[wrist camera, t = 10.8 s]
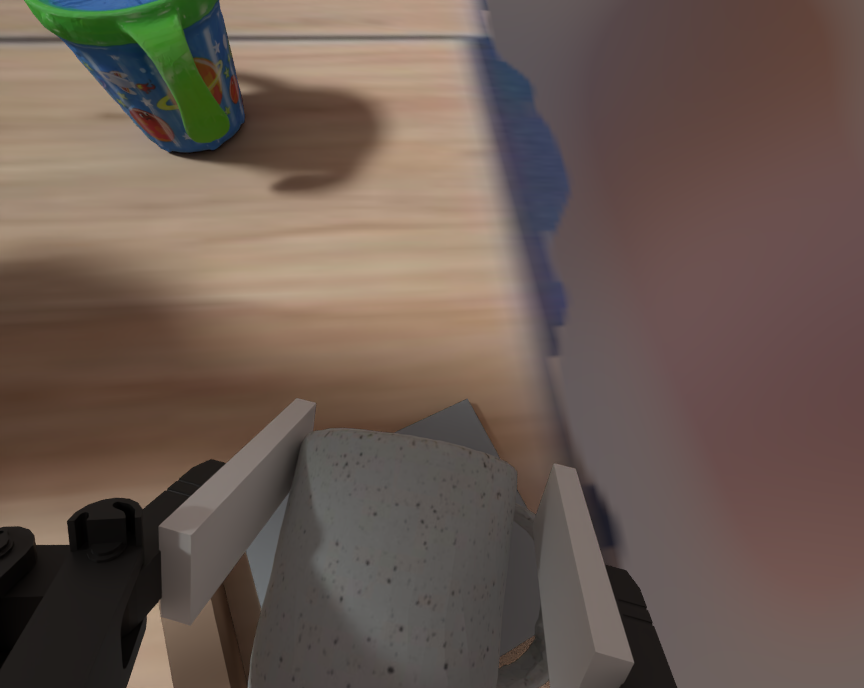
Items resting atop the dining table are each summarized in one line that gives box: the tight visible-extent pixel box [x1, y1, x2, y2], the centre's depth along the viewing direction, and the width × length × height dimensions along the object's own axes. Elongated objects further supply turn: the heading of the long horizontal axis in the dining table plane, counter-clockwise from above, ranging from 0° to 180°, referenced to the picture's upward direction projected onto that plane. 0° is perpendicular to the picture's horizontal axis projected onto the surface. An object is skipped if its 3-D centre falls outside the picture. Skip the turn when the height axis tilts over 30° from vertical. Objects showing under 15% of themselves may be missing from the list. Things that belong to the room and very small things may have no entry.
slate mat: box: [246, 399, 541, 657], centre depth 20 cm, size 11×13×1 cm
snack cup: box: [24, 0, 245, 152], centre depth 29 cm, size 16×10×10 cm
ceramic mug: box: [248, 428, 549, 688], centre depth 13 cm, size 11×8×8 cm
